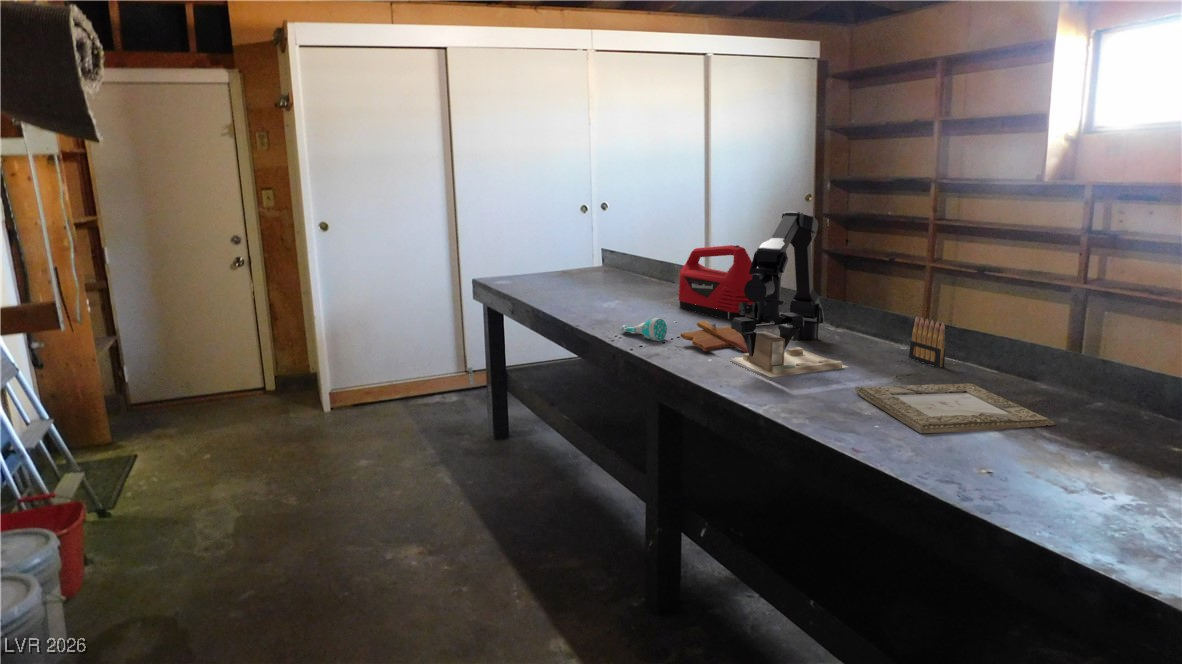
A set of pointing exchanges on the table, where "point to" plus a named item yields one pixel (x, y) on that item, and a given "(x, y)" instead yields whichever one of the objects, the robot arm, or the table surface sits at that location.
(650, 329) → the garden hose nozzle
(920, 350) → the ammunition clip
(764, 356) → the brown wooden box
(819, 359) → the birch notch board
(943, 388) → the picture frame
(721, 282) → the power tool
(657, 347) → the table surface
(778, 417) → the table surface
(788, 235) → the robot arm
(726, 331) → the sign
